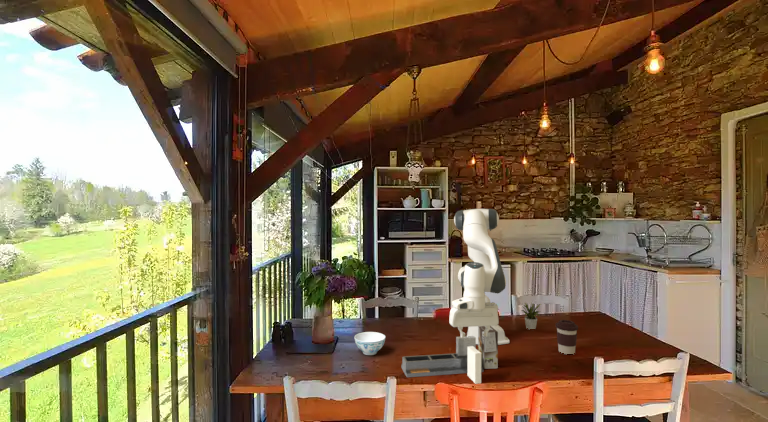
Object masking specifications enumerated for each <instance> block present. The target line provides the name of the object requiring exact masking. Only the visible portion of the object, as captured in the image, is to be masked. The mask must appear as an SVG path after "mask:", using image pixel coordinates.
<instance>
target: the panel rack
mask: <svg viewBox="0 0 768 422" xmlns="http://www.w3.org/2000/svg"><path fill="white" fill-rule="evenodd" d="M455 343H456V344H455V353H442V354H440V353H439V354H438V353H437V354H425V355H422V354H421V355H406V356H405V355H404V356H402V361H401V362H402V363H401V366H400V367H401V369H402V371H403V373H404V375H405V376H406V377H405V378H415V377H416V378H417V377H431V376H442V375H443V376H444V375H457V374H458V375H461V374H467V347H468V346H474V347H475V348H476V346H477V344H476V337H474V336H467V335H465V338H461V336H455ZM476 349H477V348H476ZM481 373H484V368H483V366H482V357H481Z"/></svg>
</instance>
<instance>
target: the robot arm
mask: <svg viewBox="0 0 768 422" xmlns="http://www.w3.org/2000/svg"><path fill="white" fill-rule="evenodd" d="M499 217H500V216H499V214H498V211H497V210H496V209H493V208H472V209H471V208H470V209H465V210H463V209H461V210H457V211H456V212H455V215H454V217H453V223H454V225H455V227H456V228H455V229H457V230H458V231H462V237H463V241H464V243H465V244H466V245H467V256H468V258H469V259H470V260H471V261H472V262H468V263H466V264H465V266H462V267H460V268H459V270H458V273H457V279H458V282H459V283H460V286H461V287H462V289H464V290H463V292H462V293H463V295H462V297H460V298H457V299H454V300H452V301H451V306H452V307H451V308H450V311H449V316H448V317H449V321H448V322H449V325H450V326H451V327H453V328H457V329H458V331H459V334H460V336H461V338H465V336H474V337H476V345H478V326H485V327H486V328H485V330H484V331H483V332H482V336H483V337H487V333H488V331H489V329H490V326H491V327H492V328H494V329H495V330H496V331H497V332H498V346H500V345H506V344H510V339H509V338H508V337H507V336H506V333H505V331H504V329H503V328H502V327H501V326H500V325H499V313H498V312H499V305H498V304H497V303H495V302H493V301H492V302H491V299H490V298H489V296H487V295H486V293H490V294H491V293H493V294H501V293H502V292H503V291H504V290H505V289H506V286H507V285H506V284H507V279H506V275H505V273H504V270H503V266H502V263H501V259H500V255H499V250H498V247H497V244H496V242H495V240H494V238H492V237H490V235H489V233H488V230H489V232H491V231H493V230H494V229H497V227H498V225H499V222H500V218H499ZM463 328H467V332H466V333H465V332H464V331H463V330H464V329H463ZM460 336H459V337H460Z"/></svg>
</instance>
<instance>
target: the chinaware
mask: <svg viewBox="0 0 768 422" xmlns="http://www.w3.org/2000/svg"><path fill="white" fill-rule="evenodd" d="M385 341H386V335H385V334H383V333H381V332H378V331H377V332H376V331H365V332H359V333H357V334H355V335H354V342H355V345H356V346H357V348H358V349H359V350H360V351H361V352H362V354H363V355H366V356H374V355H376V354H377V353H378V351H379V350H381V349H382V348H383V346H384V344H385V343H386V342H385Z"/></svg>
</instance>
